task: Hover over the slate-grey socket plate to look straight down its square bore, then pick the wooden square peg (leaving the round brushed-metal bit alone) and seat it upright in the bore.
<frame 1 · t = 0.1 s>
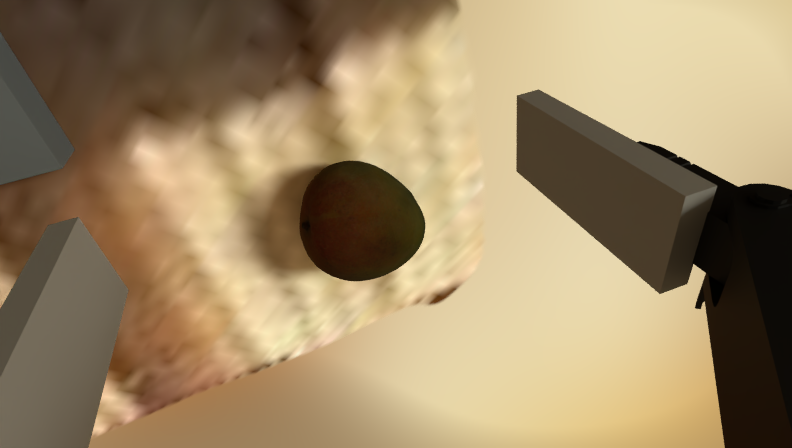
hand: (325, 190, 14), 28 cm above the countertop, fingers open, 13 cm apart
fruit: (354, 196, 47), on the countertop
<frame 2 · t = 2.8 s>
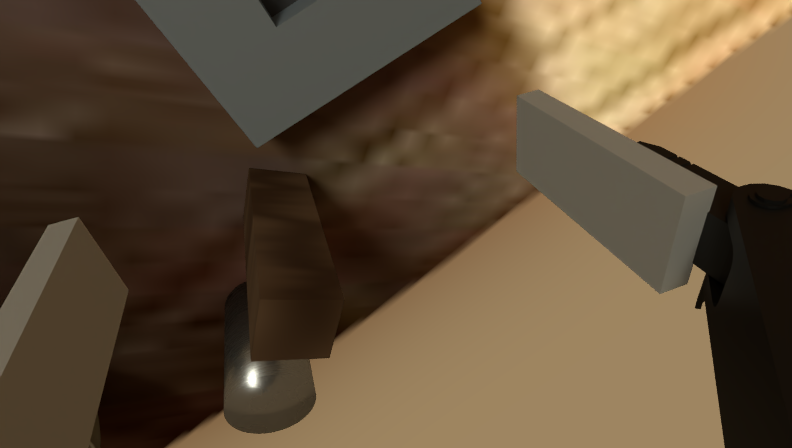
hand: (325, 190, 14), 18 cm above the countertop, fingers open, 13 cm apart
wooden square peg: (274, 195, 34), on the countertop
round bit: (262, 305, 39), on the countertop
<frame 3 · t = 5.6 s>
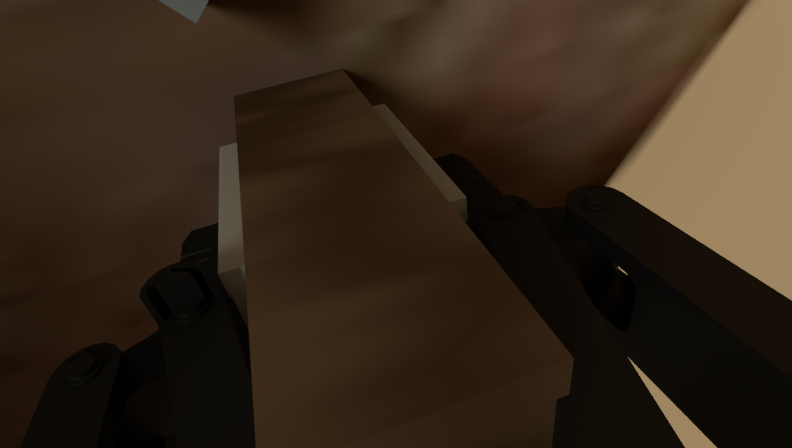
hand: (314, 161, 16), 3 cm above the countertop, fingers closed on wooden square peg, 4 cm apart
wooden square peg: (304, 132, 18), on the countertop, touching gripper
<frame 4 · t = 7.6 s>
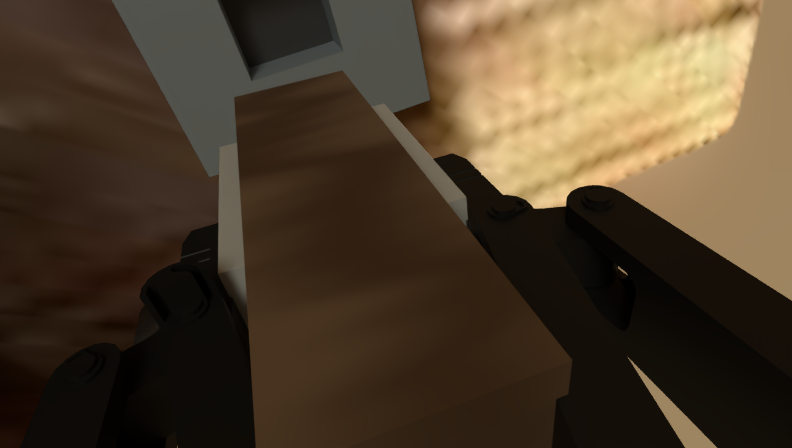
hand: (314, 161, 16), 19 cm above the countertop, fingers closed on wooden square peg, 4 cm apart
socket plate: (274, 6, 30), on the countertop
wooden square peg: (304, 133, 18), point 16 cm above the countertop, touching gripper
round bit: (178, 318, 40), on the countertop
when the fingers open (5 cm above the countertop, at t = 9.9 s): wooden square peg drops 2 cm, resting on socket plate.
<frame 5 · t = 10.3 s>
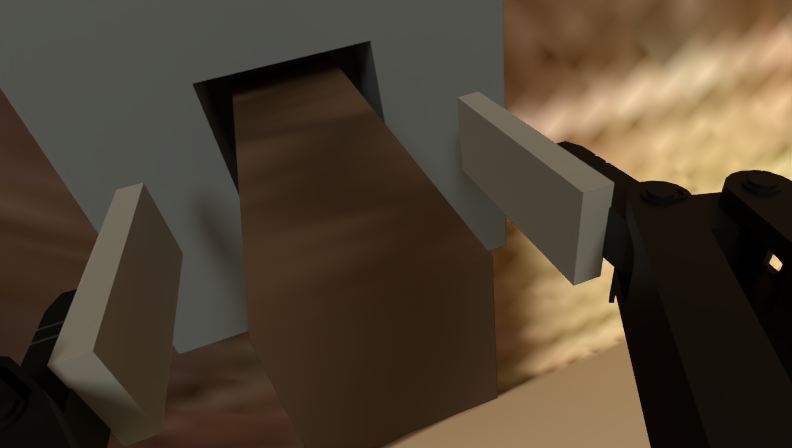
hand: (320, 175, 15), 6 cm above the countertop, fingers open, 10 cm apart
socket plate: (295, 111, 20), on the countertop
wooden square peg: (295, 114, 19), resting on socket plate
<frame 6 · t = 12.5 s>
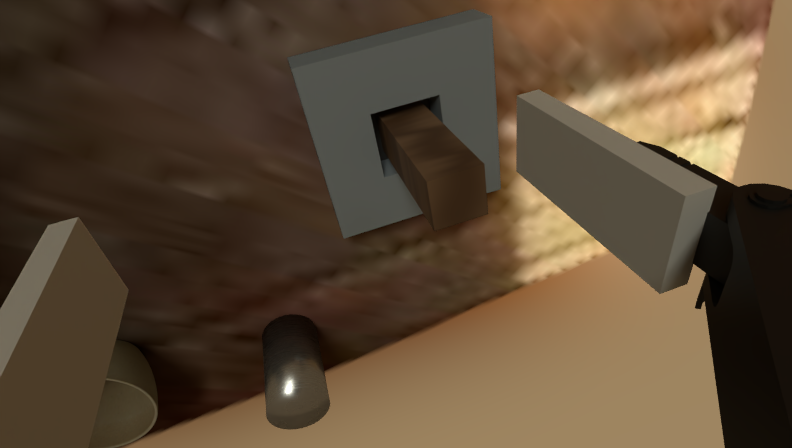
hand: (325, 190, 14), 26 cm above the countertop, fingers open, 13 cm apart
socket plate: (399, 123, 42), on the countertop
wooden square peg: (399, 124, 42), resting on socket plate
round bit: (289, 334, 52), on the countertop
flower pot: (113, 355, 47), on the countertop
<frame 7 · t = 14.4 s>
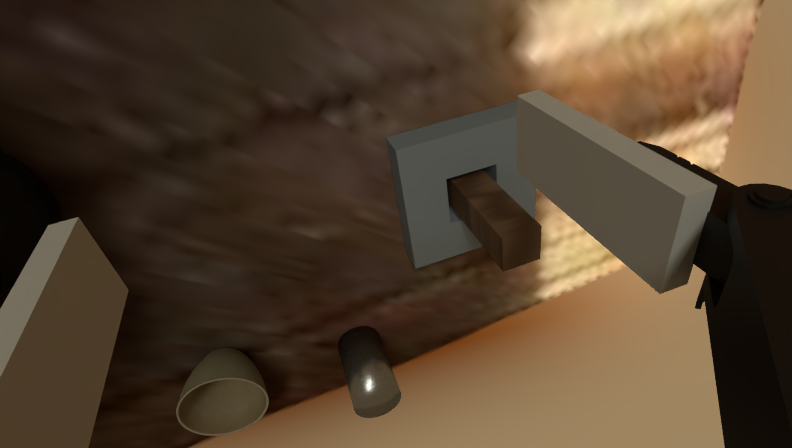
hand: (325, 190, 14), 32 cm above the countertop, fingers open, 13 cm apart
socket plate: (460, 180, 55), on the countertop
wooden square peg: (460, 182, 55), resting on socket plate
round bit: (358, 342, 64), on the countertop
flower pot: (223, 360, 59), on the countertop
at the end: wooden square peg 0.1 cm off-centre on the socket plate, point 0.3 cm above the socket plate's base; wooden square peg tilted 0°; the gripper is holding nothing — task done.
